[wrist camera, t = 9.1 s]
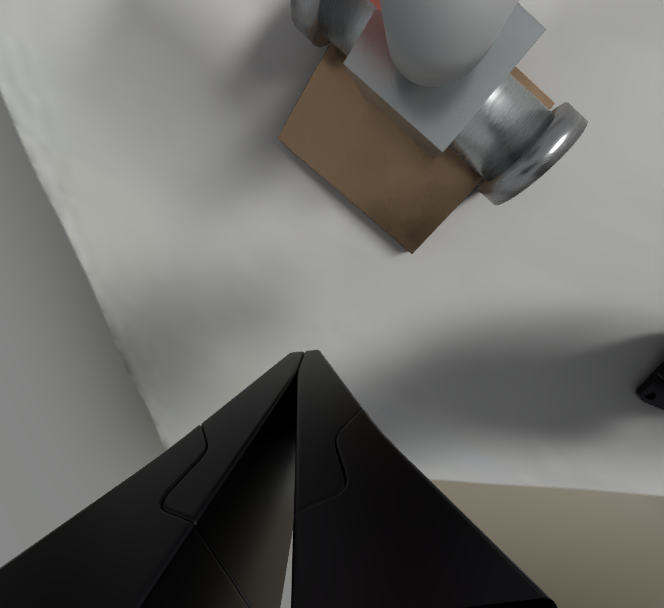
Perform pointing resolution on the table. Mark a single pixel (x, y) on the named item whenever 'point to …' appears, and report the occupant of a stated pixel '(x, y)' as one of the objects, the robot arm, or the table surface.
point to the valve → (420, 122)
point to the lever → (441, 36)
